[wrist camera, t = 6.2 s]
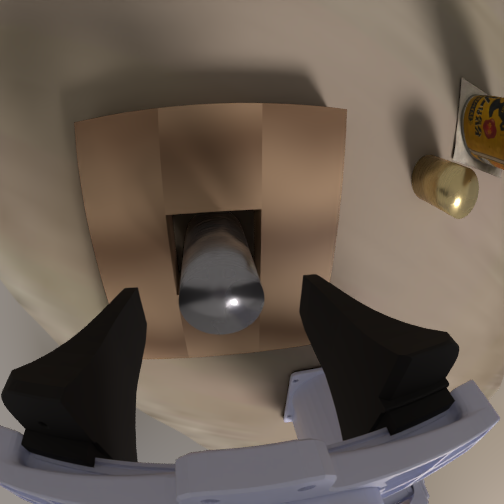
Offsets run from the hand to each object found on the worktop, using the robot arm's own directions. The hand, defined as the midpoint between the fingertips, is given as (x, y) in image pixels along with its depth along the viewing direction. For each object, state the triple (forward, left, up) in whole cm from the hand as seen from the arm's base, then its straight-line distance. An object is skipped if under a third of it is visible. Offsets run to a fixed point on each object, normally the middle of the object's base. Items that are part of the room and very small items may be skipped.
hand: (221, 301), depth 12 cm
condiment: (+9, -23, -7) cm, 26 cm away
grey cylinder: (0, 0, -7) cm, 7 cm away
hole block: (0, 0, -7) cm, 7 cm away
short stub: (+4, -16, -7) cm, 18 cm away
